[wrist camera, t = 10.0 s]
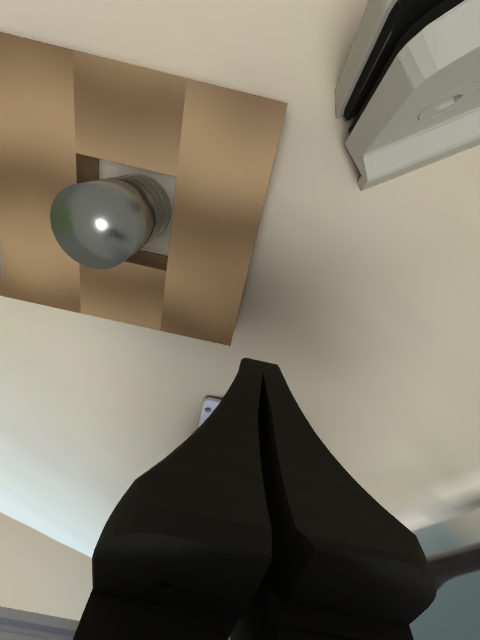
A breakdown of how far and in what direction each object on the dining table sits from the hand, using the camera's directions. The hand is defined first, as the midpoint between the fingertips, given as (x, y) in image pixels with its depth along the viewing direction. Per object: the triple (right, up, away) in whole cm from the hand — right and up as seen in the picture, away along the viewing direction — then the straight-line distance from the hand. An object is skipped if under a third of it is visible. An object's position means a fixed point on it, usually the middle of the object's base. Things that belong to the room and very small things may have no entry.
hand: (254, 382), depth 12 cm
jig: (-8, +9, +7) cm, 14 cm away
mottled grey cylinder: (-6, +9, +7) cm, 13 cm away
